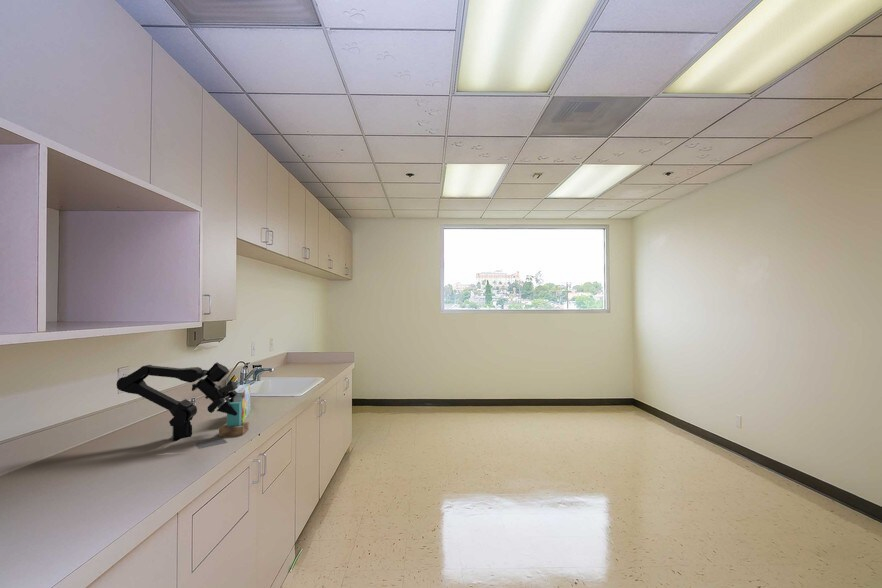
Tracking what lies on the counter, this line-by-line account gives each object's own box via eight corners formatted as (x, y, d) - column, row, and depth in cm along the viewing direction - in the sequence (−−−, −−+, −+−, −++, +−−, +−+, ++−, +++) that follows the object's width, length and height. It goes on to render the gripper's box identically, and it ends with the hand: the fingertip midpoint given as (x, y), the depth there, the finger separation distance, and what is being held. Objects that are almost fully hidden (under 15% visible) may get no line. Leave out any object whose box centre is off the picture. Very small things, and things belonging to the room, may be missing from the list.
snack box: (239, 413, 203) (239, 384, 204) (250, 412, 205) (251, 383, 206) (230, 424, 183) (230, 392, 184) (243, 423, 185) (243, 391, 185)
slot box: (218, 437, 164) (219, 428, 164) (225, 432, 171) (225, 423, 171) (242, 436, 166) (242, 426, 166) (248, 431, 173) (248, 422, 173)
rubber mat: (198, 450, 150) (198, 448, 150) (194, 443, 158) (194, 442, 158) (227, 443, 157) (227, 442, 157) (221, 437, 164) (221, 436, 164)
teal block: (226, 429, 167) (227, 403, 167) (229, 427, 170) (229, 402, 170) (239, 428, 168) (239, 403, 168) (241, 426, 170) (241, 401, 171)
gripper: (215, 380, 160) (244, 405, 161) (233, 372, 178) (258, 395, 179) (195, 400, 158) (223, 425, 159) (214, 390, 177) (240, 413, 178)
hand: (237, 413), depth 169 cm, fingers closed on teal block, 2 cm apart
